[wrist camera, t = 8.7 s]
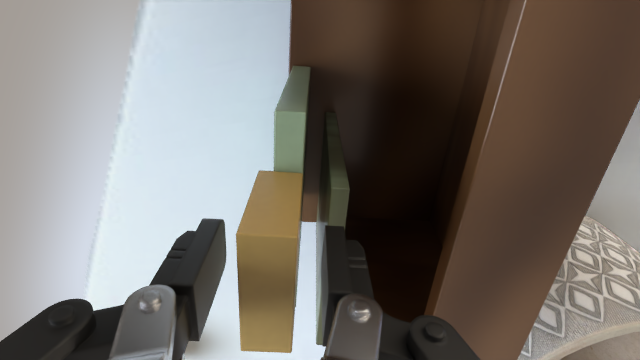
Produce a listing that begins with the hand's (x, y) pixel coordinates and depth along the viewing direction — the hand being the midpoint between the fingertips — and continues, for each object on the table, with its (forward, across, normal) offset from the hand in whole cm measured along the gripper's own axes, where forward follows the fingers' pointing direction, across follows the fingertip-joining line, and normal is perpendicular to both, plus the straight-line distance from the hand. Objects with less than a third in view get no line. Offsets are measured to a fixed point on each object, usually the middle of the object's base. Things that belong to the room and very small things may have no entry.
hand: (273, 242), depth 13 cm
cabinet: (+15, -6, -1) cm, 16 cm away
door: (+14, 0, 0) cm, 14 cm away
